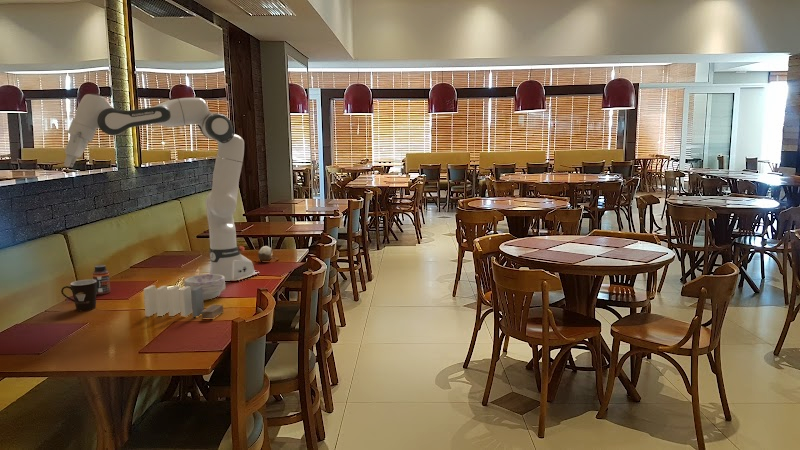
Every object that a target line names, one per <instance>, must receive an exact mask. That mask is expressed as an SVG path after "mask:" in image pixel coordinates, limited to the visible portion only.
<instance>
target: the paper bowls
mask: <svg viewBox="0 0 800 450" xmlns="http://www.w3.org/2000/svg"><path fill="white" fill-rule="evenodd" d="M183 283H184V287H186V286H190V288H191V290H193V289H195V288H196V287H202V289H203V301H207V300H206V299H211V300H213V299H212V298H215V297H217V296H218V297H219V296H220V295H221V294H222V292H224V291H225V290H226V282H225V277H224V276H223V275H217V274H210V273H209V274H198V275H193V276H190V277H186V278H184V281H183ZM218 297H217V298H218ZM191 298H192V295H191ZM215 299H216V298H215Z"/></svg>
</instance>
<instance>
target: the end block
mask: <svg viewBox="0 0 800 450" xmlns="http://www.w3.org/2000/svg"><path fill="white" fill-rule="evenodd" d="M222 312H223V313H224V305H223V304H211V305H210V306H207V307H206V308H204V310H203V311H202V316H201V319H202V318H214V317H216V316H217V315H219V314H221V313H222ZM221 315H222V314H221Z"/></svg>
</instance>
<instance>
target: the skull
mask: <svg viewBox="0 0 800 450" xmlns="http://www.w3.org/2000/svg"><path fill="white" fill-rule="evenodd" d="M257 257H258V258H259V259H260V261H270V260H271V259H279V258H278V257H276V256H273V250H272V247H270V246H268V245H265V246H264V245H263V246H262V247H260V249H259V251H258V252H257Z"/></svg>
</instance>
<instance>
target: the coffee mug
mask: <svg viewBox="0 0 800 450" xmlns="http://www.w3.org/2000/svg"><path fill="white" fill-rule="evenodd" d="M96 285H97V281H96V280H93V279H80V280H75V281H72V282H70V286H67V285H66V286H63V287H62V288H61V294H62V296H63V297H64V298H66V299H68V300H70V301H71V302H74V305H75V310H76V311H78V312H86V311H88V312H89V311H92V310H94V309H96V308H97V294H96ZM66 288H67V289H69V290H70V291H71V293H72V297H73V298H71V297H70V296H67V295H66V294H65V293H64V289H66Z"/></svg>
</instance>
